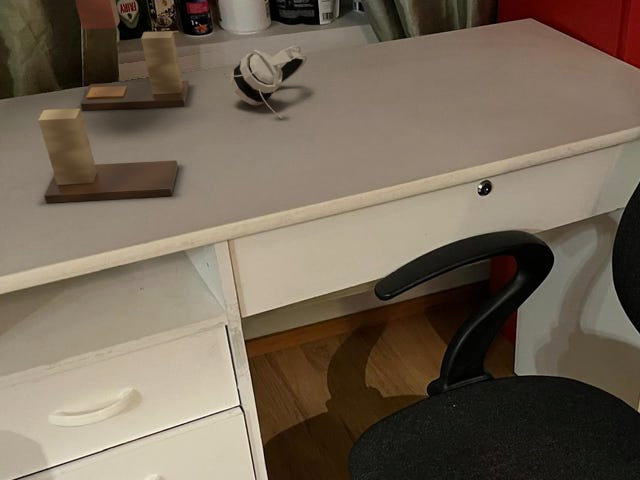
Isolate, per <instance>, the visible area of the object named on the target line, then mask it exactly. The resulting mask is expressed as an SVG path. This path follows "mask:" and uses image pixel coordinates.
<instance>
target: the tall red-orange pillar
mask: <svg viewBox="0 0 640 480" xmlns="http://www.w3.org/2000/svg"><path fill="white" fill-rule="evenodd" d="M74 2H75V5H76V10H77V13H78V17H79V21H80V25H81V28H82V30H99V29H103V30H104V29H117V27H118V26H119V24H120V21H121V19H120V15H119V10H118V6H117V2H116V0H74Z"/></svg>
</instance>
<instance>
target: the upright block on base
mask: <svg viewBox="0 0 640 480" xmlns="http://www.w3.org/2000/svg"><path fill="white" fill-rule="evenodd" d="M140 41H141V45H142V49H143V54H144V59H145V63H146V69H147V73H148V78H149V81H140V82H139V81H137V82H115V83H112V82H111V83H90V84H89V86H88V88H87V90H86V92H85V95H84V96H83V98H82V100H81V102H80V107H81V111H101V110H102V111H104V110H129V109H130V110H131V109H151V108H152V109H154V108H177V107H185V106H186V103H187V97H188V93H189V90H190V84H189V80H183V79H182V73H181V68H180V61H179V56H178V51H177V46H176V41H175V36H174V31H172V30H171V31H169V30H168V31H165V30H164V31H143V33H142V36H141V38H140Z"/></svg>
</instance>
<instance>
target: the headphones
mask: <svg viewBox="0 0 640 480" xmlns="http://www.w3.org/2000/svg"><path fill="white" fill-rule="evenodd" d="M286 51H288V53H289V54H290V55H289V54H288V53H287V52H286ZM301 51H302V48H301V46H299V45H293V46H290V47H288V48H285V49H284V48H283V49H281V50H280V51H279V52H278V53H276V54H275V55H273V56H272V55H270V54H268V53H266V52H264V51H262V50H257V49H254V50H251V51H250V52H249V53H247V54H246V55H245V56H244V57H243V58H241V60H240V61H239V64H238V65H237V66H236V67H235V68H234V69H233V70H232V72H231V74H230V75H228V74H226V73H223V75H224V77H225V76H226V77H229V78H230V85H231V87H232V89H233V91H234V93H235V94H236V95H237V96H238V97H239V98H240V100H242V101H243V102H245V103H247V104H249V105H251V106H255V107H257V106H261V105H263V104H264V103H265V104H266V106H267V107H268V108H269V109H270V110H271V111H272V112H273V113H274V114H275V115H277V117H278V118H280V119H283V117H282V116H281V115H279V114H278V113H277V112H276V111H275V110H274V109H273V108H272V107H271V106H270V105H269V104H268V102H267V101H268V100H269V99H270V98H271V97H272V95H273V94H274V93H275V92H276V91H277V90H278V89H279V88H280V86H281V85H282V84H284V83H286V81H288V80H289V79H291V77H293V76H294V75H295V74H297V72H299V71H300V70H301V69H302V68H303V67H304V65H305V64H306V62H307V60H308V57H307V55H306V54H301ZM280 65H281V66H280Z"/></svg>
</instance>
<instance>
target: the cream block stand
mask: <svg viewBox="0 0 640 480" xmlns="http://www.w3.org/2000/svg"><path fill="white" fill-rule="evenodd" d="M37 121H38V125H39V128H40V131H41V134H42V138H43V141H44V144H45V147H46V151H47V154H48V158H49V162H50V163H51V168H52V171H53V176H52V178H51V180H50V182H49V184H48V186H47V189H46V190H45V193H44V195H43V197H44V200H45V203H46V204H51V203H53V204H54V203H70V202H71V203H73V202H90V201H105V200H123V199H125V200H126V199H143V198H159V197H172V196H173V192H174V188H175V183H176V179H177V173H178V170H179V164H178V160H159V161H158V160H157V161H139V162H138V161H137V162H136V161H135V162H119V163H118V162H117V163H96V162H95V159H94V154H93V151H92V147H91V143H90V140H89V136H88V133H87V128H86V125H85V121H84V116H83V113H82V108H61V109H60V108H59V109H43V110H42V112H41V114H40V116H39V117H38V120H37Z"/></svg>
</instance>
